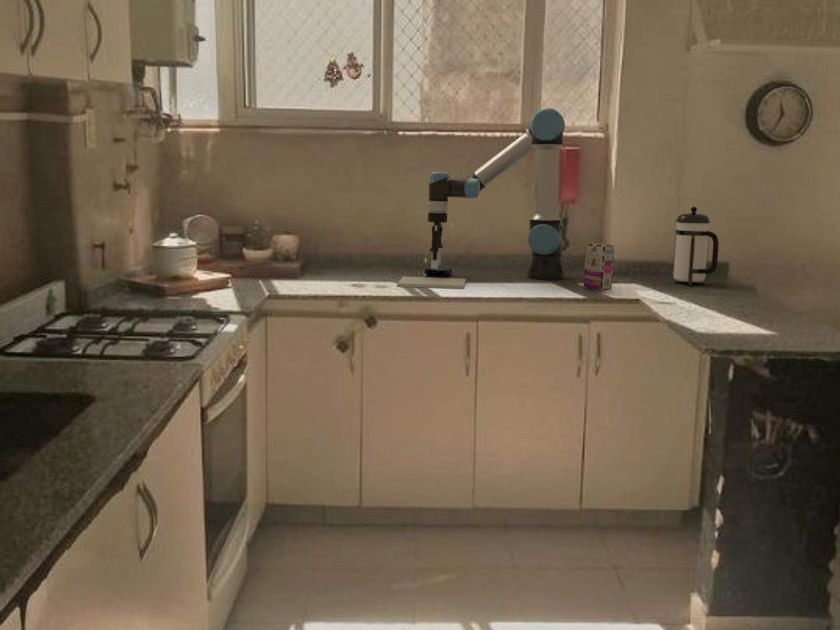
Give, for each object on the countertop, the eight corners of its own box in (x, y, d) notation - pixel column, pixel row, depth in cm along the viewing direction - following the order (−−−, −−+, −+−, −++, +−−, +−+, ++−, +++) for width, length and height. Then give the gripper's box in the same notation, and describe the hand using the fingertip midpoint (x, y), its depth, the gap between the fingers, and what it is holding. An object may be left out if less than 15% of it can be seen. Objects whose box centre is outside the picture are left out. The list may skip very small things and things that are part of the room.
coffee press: (668, 285, 351) (673, 206, 346) (669, 280, 366) (674, 205, 361) (715, 288, 346) (721, 208, 341) (715, 283, 361) (720, 206, 356)
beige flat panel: (465, 281, 348) (465, 278, 348) (463, 288, 329) (463, 285, 329) (403, 279, 350) (403, 276, 350) (397, 286, 331) (397, 283, 331)
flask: (423, 268, 359) (431, 267, 369) (423, 275, 359) (431, 274, 370) (446, 269, 356) (453, 268, 367) (446, 277, 357) (453, 275, 367)
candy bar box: (612, 290, 335) (615, 245, 332) (601, 290, 332) (604, 245, 330) (593, 286, 344) (595, 242, 342) (582, 286, 342) (584, 242, 339)
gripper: (430, 210, 368) (428, 262, 371) (425, 213, 343) (423, 269, 347) (449, 210, 367) (447, 263, 371) (445, 214, 342) (443, 270, 346)
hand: (435, 266), depth 359 cm, fingers open, 13 cm apart
